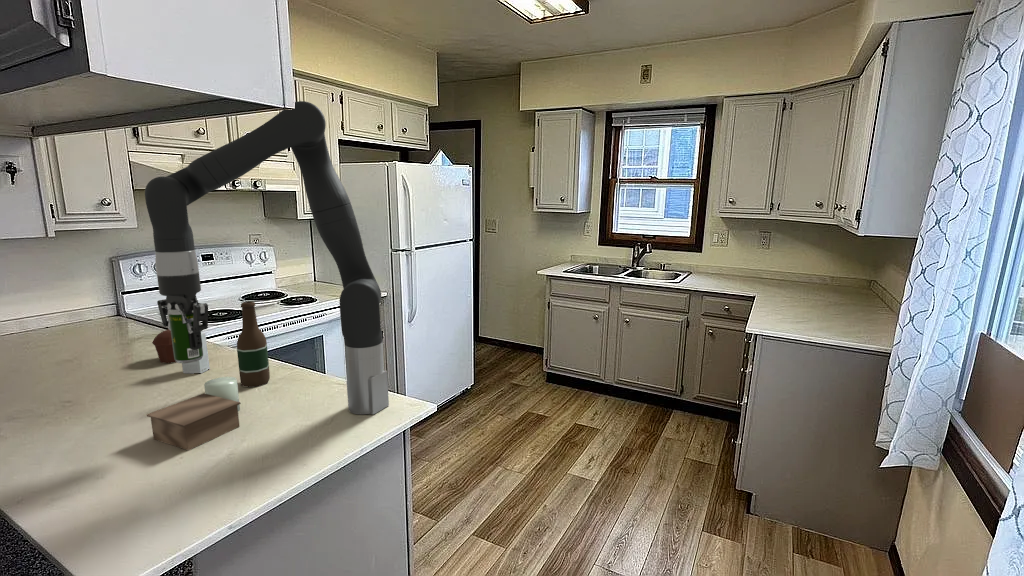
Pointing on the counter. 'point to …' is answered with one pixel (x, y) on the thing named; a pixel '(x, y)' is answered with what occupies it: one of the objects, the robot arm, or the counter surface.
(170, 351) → the muffin
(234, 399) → the pale green capsule
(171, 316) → the beer can
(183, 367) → the skincare box
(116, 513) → the counter surface
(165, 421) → the podium
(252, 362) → the beer bottle
